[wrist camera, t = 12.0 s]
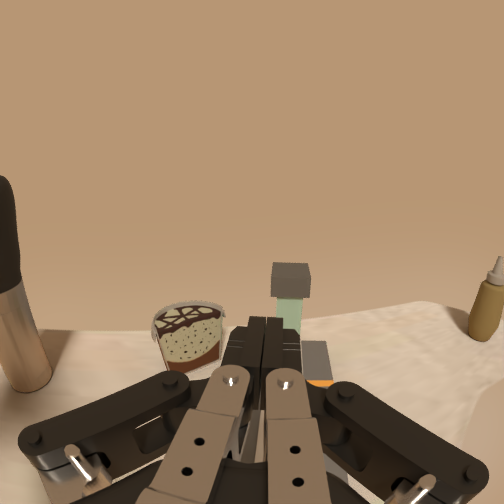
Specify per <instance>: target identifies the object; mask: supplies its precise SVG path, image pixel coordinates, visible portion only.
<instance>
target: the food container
mask: <svg viewBox="0 0 504 504" xmlns="http://www.w3.org/2000/svg"><path fill="white" fill-rule="evenodd" d="M222 316H223V317H226V316H225V312H224V310H223V307H222V306H220V305H217V304H215V303H211V302H206V301H185V302H179V303H175V304H172V305H169V306H166V307H164V308H163V309H161V310H160V311H158V312H157V313H156V315H155V316H154V319H153V322H152V331H151V335H152V339H153V340H154V342H156V337H157V340H158V344H159V347H160V350H161V353H162V356H163V359H164V362H165V365H166V368H167V371H169V370H174V371H179V372H182V373H184V374H185V375H186V374H188V373H191V372H193V371H196V370H198V369H201V368H203V367H205V366H208V365H210V364H212V363H215V362H217V361H219V360H221V337H222Z"/></svg>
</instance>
